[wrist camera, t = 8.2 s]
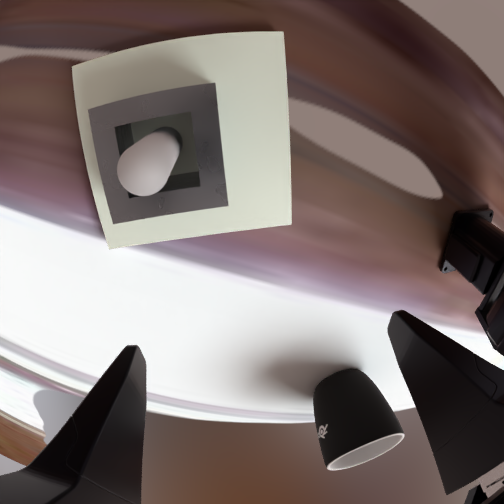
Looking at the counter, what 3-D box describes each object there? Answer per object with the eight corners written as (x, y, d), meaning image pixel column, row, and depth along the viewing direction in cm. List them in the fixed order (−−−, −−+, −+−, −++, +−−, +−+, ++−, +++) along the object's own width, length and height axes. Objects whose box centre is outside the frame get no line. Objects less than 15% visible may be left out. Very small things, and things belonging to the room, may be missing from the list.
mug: (300, 377, 29) (326, 458, 21) (375, 351, 29) (413, 423, 21) (308, 418, 36) (326, 479, 27) (367, 398, 36) (391, 455, 27)
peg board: (279, 34, 13) (323, 3, 7) (287, 218, 19) (324, 278, 13) (78, 67, 12) (13, 61, 6) (113, 241, 18) (80, 309, 12)
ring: (214, 85, 14) (215, 82, 11) (225, 187, 17) (228, 206, 14) (107, 106, 13) (87, 109, 10) (126, 203, 16) (113, 224, 14)
